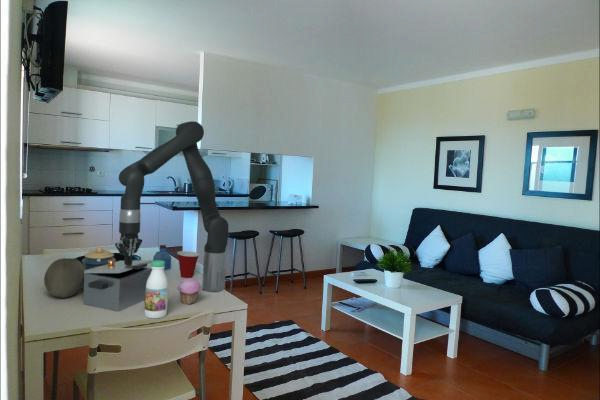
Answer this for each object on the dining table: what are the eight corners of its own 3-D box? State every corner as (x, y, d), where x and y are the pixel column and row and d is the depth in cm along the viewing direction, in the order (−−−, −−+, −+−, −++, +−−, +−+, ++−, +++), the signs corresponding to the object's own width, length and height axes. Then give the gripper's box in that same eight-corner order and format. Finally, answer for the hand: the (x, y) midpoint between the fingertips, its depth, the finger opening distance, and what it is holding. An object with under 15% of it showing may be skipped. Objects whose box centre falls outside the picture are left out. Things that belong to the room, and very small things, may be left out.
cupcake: (189, 297, 171) (190, 274, 171) (204, 302, 167) (206, 278, 166) (172, 303, 164) (173, 278, 163) (188, 308, 159) (189, 283, 159)
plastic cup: (202, 278, 201) (203, 254, 200) (180, 280, 194) (182, 255, 193) (193, 272, 210) (194, 249, 209) (172, 274, 203) (173, 250, 202)
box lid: (158, 262, 167) (158, 255, 167) (125, 273, 149) (125, 264, 149) (120, 262, 172) (119, 255, 172) (84, 273, 154) (83, 265, 154)
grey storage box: (151, 297, 169) (152, 268, 168) (112, 314, 148) (113, 281, 147) (119, 290, 173) (120, 262, 172) (76, 306, 152) (77, 274, 151)
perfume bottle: (170, 268, 214) (171, 245, 213) (160, 270, 209) (161, 247, 208) (162, 266, 217) (163, 244, 216) (152, 268, 212) (154, 245, 211)
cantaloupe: (80, 301, 157) (82, 263, 156) (38, 302, 153) (39, 263, 152) (88, 290, 171) (89, 255, 170) (50, 291, 167) (51, 254, 166)
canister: (119, 288, 176) (121, 248, 175) (87, 294, 167) (89, 251, 165) (107, 281, 185) (108, 242, 184) (76, 286, 176) (77, 245, 174)
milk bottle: (147, 311, 154) (150, 258, 152) (169, 311, 154) (171, 259, 153) (141, 318, 146) (144, 263, 144) (163, 319, 147) (166, 264, 145)
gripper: (125, 223, 151) (124, 269, 152) (149, 219, 163) (147, 262, 165) (109, 221, 153) (107, 267, 154) (133, 218, 166) (131, 260, 167)
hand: (128, 264), depth 159 cm, fingers closed
